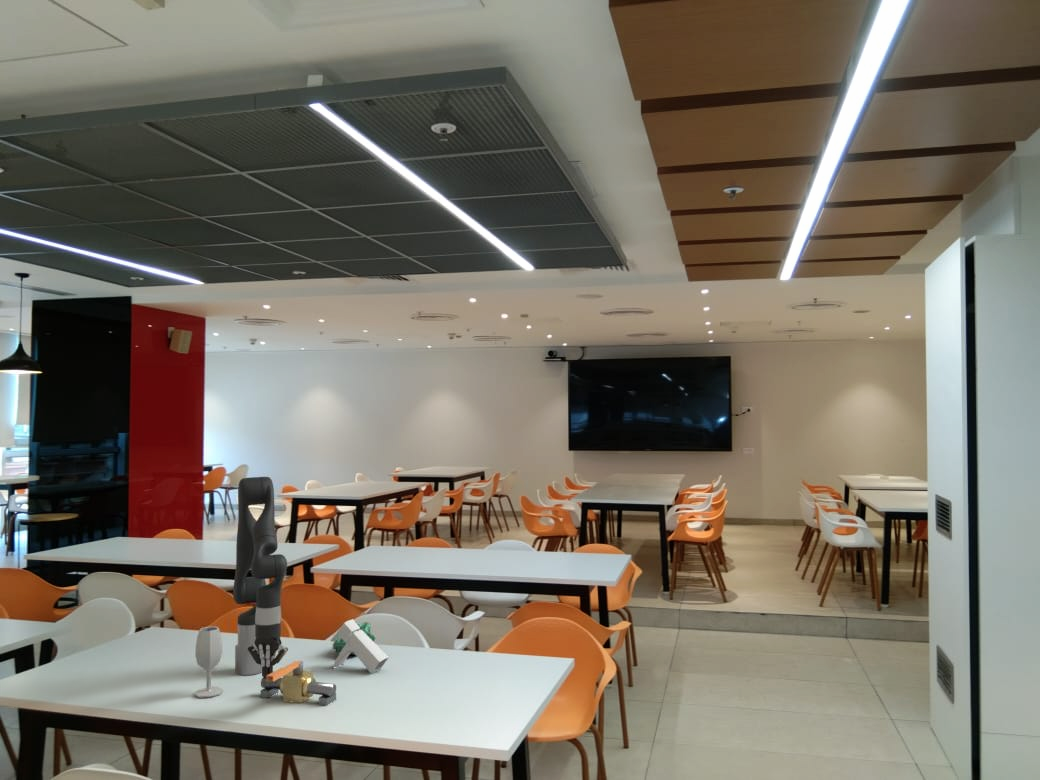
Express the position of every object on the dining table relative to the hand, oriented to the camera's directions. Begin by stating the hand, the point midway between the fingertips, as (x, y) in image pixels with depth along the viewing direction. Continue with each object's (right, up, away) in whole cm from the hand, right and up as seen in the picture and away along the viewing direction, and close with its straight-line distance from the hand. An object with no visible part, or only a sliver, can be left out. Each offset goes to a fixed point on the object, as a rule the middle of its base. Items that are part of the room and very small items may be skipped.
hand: (267, 678), depth 228 cm
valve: (+6, -10, +10) cm, 16 cm away
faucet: (+20, -12, +39) cm, 45 cm away
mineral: (+14, -13, +59) cm, 62 cm away
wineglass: (-25, -11, +16) cm, 31 cm away
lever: (+4, -2, +4) cm, 6 cm away
